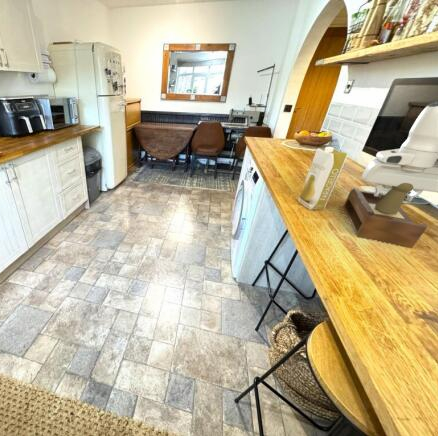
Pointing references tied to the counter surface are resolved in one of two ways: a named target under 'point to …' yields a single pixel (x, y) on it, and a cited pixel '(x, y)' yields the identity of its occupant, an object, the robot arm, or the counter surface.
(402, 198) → the pepper mill
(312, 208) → the juice carton
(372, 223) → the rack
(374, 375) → the counter surface
